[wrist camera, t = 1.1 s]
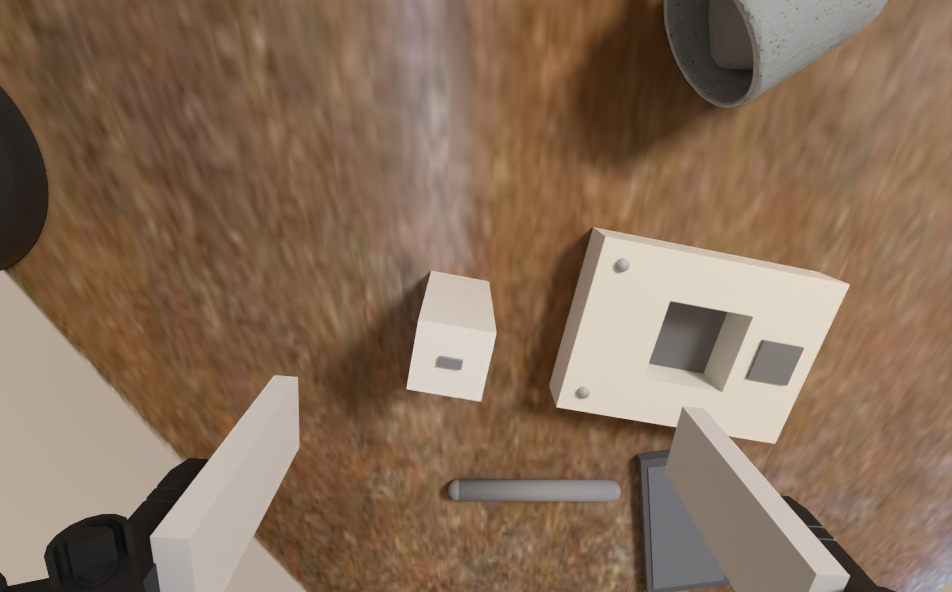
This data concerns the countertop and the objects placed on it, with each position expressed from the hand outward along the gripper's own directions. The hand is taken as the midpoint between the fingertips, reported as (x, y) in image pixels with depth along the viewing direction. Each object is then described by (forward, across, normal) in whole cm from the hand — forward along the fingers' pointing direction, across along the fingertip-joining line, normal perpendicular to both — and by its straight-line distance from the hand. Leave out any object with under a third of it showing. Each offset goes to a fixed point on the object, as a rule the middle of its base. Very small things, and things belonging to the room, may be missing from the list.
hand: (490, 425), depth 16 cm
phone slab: (+17, +19, -19) cm, 32 cm away
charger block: (+17, -1, -2) cm, 17 cm away
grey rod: (+17, +6, -17) cm, 25 cm away
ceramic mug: (+18, +12, +18) cm, 28 cm away
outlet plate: (+17, +15, -2) cm, 23 cm away
